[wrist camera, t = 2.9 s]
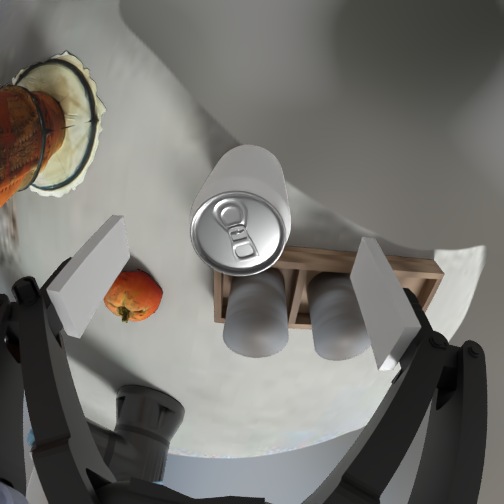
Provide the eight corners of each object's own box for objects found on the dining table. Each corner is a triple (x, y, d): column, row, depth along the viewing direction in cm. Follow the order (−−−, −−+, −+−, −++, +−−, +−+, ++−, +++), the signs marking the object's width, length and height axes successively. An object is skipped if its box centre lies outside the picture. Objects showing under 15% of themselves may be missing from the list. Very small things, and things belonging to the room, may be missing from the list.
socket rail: (217, 305, 36) (206, 362, 28) (218, 240, 31) (202, 295, 23) (408, 315, 36) (429, 363, 28) (434, 260, 31) (467, 307, 23)
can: (272, 135, 24) (276, 169, 14) (290, 197, 28) (304, 269, 17) (205, 155, 26) (165, 203, 16) (228, 214, 29) (207, 290, 19)
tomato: (97, 304, 35) (90, 312, 28) (112, 257, 36) (108, 256, 30) (148, 323, 38) (152, 335, 31) (164, 278, 39) (171, 281, 33)
